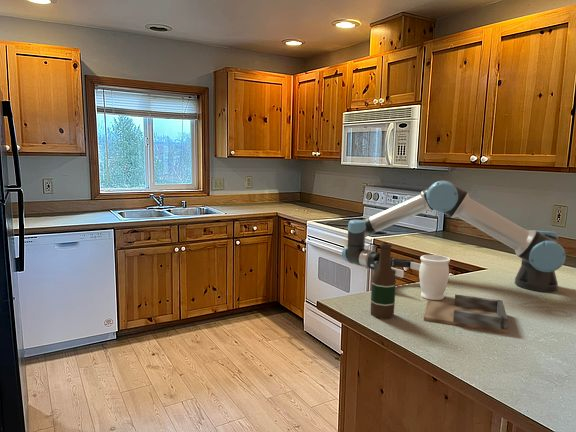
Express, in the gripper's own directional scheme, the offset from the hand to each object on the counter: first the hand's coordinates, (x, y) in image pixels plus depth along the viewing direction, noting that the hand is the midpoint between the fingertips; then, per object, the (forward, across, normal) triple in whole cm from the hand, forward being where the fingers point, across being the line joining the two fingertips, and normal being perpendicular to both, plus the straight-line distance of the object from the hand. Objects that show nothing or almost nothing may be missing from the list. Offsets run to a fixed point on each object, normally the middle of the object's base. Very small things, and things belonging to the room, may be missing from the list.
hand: (414, 271), depth 163 cm
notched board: (+26, +8, -8) cm, 29 cm away
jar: (+8, 0, -8) cm, 12 cm away
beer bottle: (+9, +29, -8) cm, 32 cm away
